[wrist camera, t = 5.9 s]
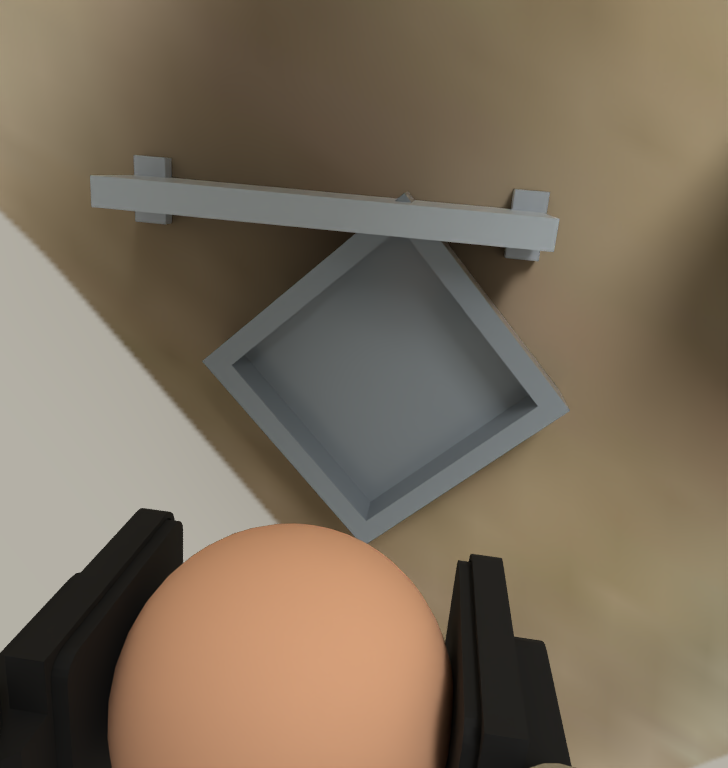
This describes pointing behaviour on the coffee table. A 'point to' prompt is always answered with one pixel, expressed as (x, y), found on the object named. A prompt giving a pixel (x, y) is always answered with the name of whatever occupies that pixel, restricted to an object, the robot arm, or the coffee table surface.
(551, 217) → the fence
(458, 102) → the coffee table surface
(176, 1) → the coffee table surface
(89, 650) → the robot arm
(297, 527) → the ball
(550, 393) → the dish
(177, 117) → the coffee table surface
